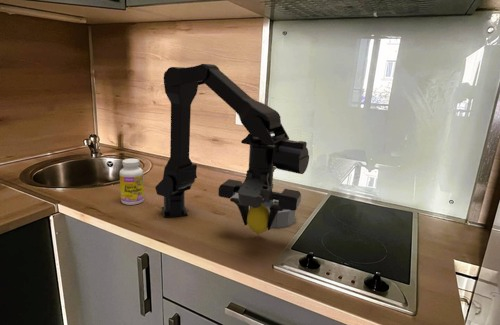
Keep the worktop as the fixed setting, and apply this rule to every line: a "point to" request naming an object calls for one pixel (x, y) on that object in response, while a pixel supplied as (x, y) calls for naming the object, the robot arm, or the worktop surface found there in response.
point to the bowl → (281, 216)
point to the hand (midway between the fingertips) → (257, 226)
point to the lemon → (258, 219)
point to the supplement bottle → (131, 182)
